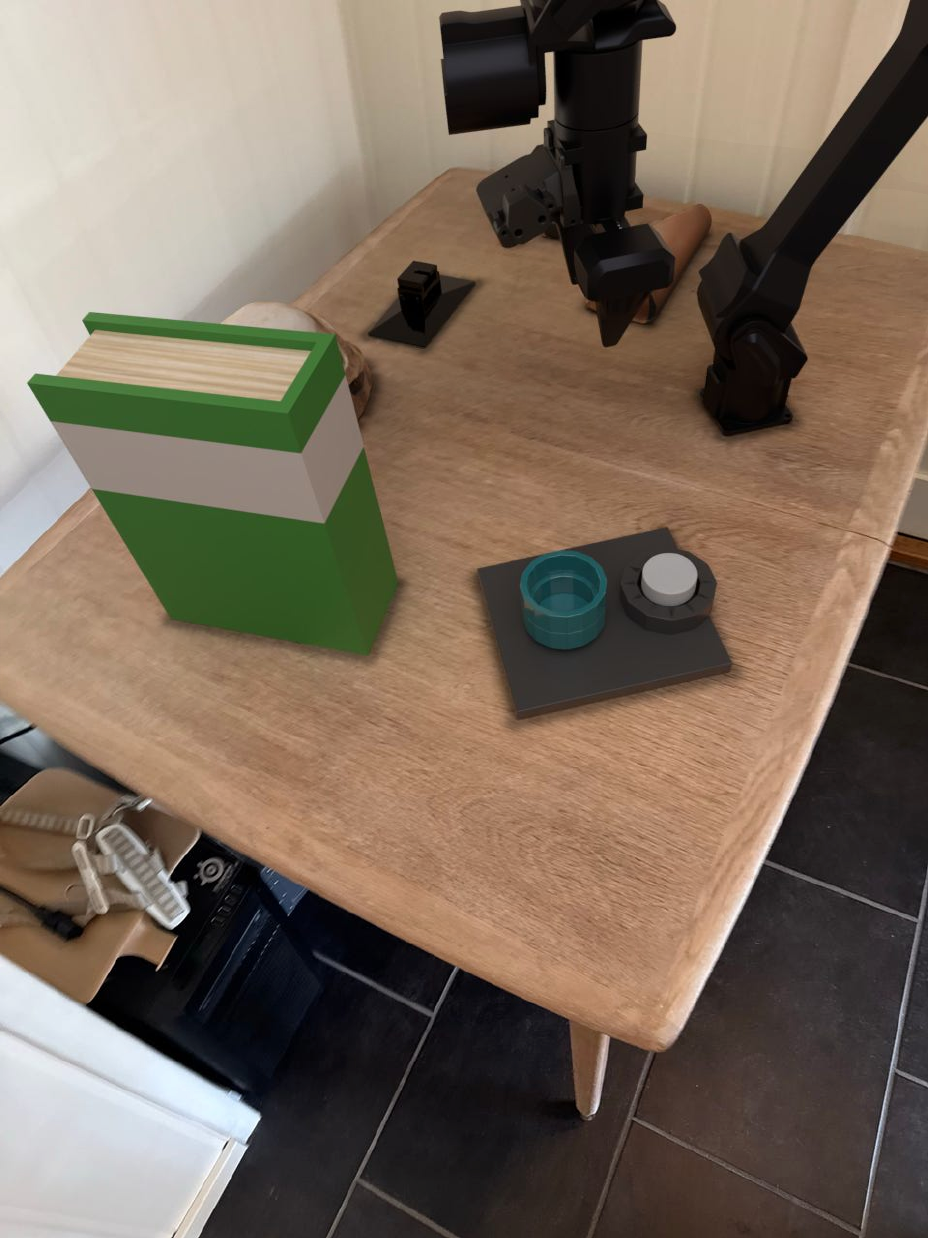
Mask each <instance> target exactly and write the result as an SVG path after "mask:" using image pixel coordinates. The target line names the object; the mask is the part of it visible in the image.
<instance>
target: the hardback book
mask: <svg viewBox="0 0 928 1238" xmlns="http://www.w3.org/2000/svg"><path fill="white" fill-rule="evenodd" d="M81 321H82V323H83V325H84V327H85V329H86V331H87V332H88V335H89V336H88V338H87V339H86V340H84V342H83V343H82V344H81V346H80V347H79V348H78V349H77V350H76V352H75V353H74V354H73V355H72V356H71V357H70V359H69V360H67V362H66V363H65V364H64V365H63V367H62V368H61V369H60V370H59V371H58V372H57V374H56V375H53V374H52V375H51V374H44V373H34V374H33V375H32V376H31V378H29V380H28V381H27V382H26V384H27V386H28V387H29V389H30V390H31V392H32V394H33V395H34V397H35V399H36V400H37V402H38V404H39V405H40V407H41V409H42V410H43V412H44V414H45V415H46V417H47V418H48V420H49V422H50V423H51V425H52V427H53V428H54V430H55V431H56V433H57V435H58V436H59V438H60V440H61V441H62V444H63V445H64V446H65V448H66V449H67V451H68V453H69V454H70V456H71V458H72V460H73V461H74V463H75V464H76V466H77V468H78V469H79V471H80V473H81V475H82V476H83V477H84V479H85V481H86V482H87V484H88V486H89V487H90V489H91V491H92V492H93V494H94V495H95V497H96V499H97V500H98V502H99V504H100V505H101V506H102V509H103V510H104V512H105V513H106V515H107V517H108V518H109V520H110V521H111V523H112V525H113V526H114V528H115V530H116V531H117V533H118V535H119V536H120V538H121V540H122V541H123V543H124V545H125V546H126V548H127V549H128V551H129V553H130V554H131V556H132V557H133V559H134V561H135V563H136V564H137V566H138V567H139V570H140V571H141V572H142V574H143V576H144V577H145V579H146V581H147V582H148V584H149V585H150V588H151V589H152V591H153V592H154V594H155V595H156V597H157V599H158V600H159V602H160V604H161V605H162V607H163V608H164V611H166V614H167V615H168V617H169V619H171V620H174V621H181V622H186V623H192V624H195V625H196V624H198V625H201V626H207V627H213V628H219V629H224V630H229V631H234V632H238V633H245V634H250V635H255V636H260V637H266V638H272V639H276V640H282V641H288V642H292V643H297V644H304V645H310V646H314V647H320V648H324V649H331V650H335V651H336V650H337V651H341V652H347V653H351V654H352V653H353V654H357V655H362V656H369V655H370V653H371V650H372V648H373V646H374V643H375V641H376V638H377V636H378V633H379V631H380V629H381V627H382V624H383V623H384V619H385V617H386V615H387V612H388V609H389V607H390V605H391V603H392V600H393V598H394V596H395V593H396V591H397V589H398V586H399V584H400V583H399V579H398V576H397V571H396V568H395V567H396V566H395V563H394V560H393V555H392V552H391V548H390V544H389V540H388V536H387V532H386V529H385V525H384V521H383V520H384V519H383V517H382V513H381V509H380V503H379V501H378V500H379V499H378V497H377V493H376V489H375V485H374V481H373V477H372V473H371V469H370V465H369V461H368V457H367V454H366V453H367V452H366V449H365V446H364V441H363V437H362V434H361V430H360V426H359V421H358V420H357V418H356V414H355V410H354V406H353V402H352V398H351V394H350V390H349V386H348V382H347V378H346V374H345V370H344V367H343V363H342V359H341V355H340V351H339V347H338V343H337V339H336V335H335V334H326V333H315V332H304V331H293V330H282V329H271V328H260V327H249V326H238V325H228V324H220V323H215V322H214V323H213V322H206V321H205V322H204V321H193V320H183V319H171V318H162V317H161V318H160V317H151V316H150V317H149V316H138V315H129V314H128V315H127V314H119V313H118V314H117V313H107V312H106V313H105V312H96V311H95V312H94V311H89V312H88V313H87V314H86V315H85V316H84V317H83V318H82V320H81Z"/></svg>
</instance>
